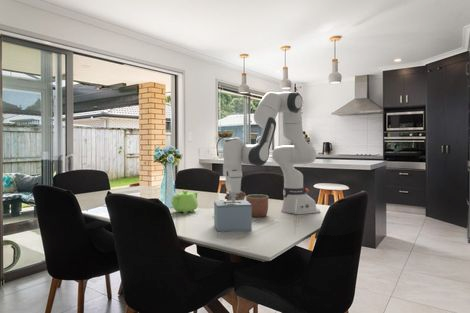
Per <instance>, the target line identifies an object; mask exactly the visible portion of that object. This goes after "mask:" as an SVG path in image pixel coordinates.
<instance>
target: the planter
mask: <svg viewBox="0 0 470 313" xmlns="http://www.w3.org/2000/svg"><path fill="white" fill-rule="evenodd" d="M245 200H247V201H248V202H249V203H250V204H252V218H263V217H265V216H267V215H268V212H269V196H268V195H267V194H248V195H246V196H245Z"/></svg>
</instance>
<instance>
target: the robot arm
mask: <svg viewBox="0 0 470 313" xmlns="http://www.w3.org/2000/svg"><path fill="white" fill-rule="evenodd" d="M302 106H303V97H302V95H301V94H300V92H295V91H281V92H274V91H269V92H266V93H265V94H264V95H263V96H262V98H261V100H260V101H259V103H258V105H257V107H256V109H255V111H254V113H253V121H254V122H255V124H256V125H258V126H259V128H261V129H262V132H261V134H260V136H259V139H258V142H257V143H255V144H248V143H246V142H244V141H243V140H241V138H240V137H236V136H235V137H230V138H227V139H225V140H224V142H223V145H222V146H223V147H222V159H223V164H222V174H223V175H222V176H224V177H225V188H226V189H227V191H229V198H230V200H231V201H232V202H235V198H236V194H239V193H240V191H241V189H242V188H241V187H242V178H243V170H242V165H243V164H244V165H253V166H256V167H262V166H264V165H266V163H267V162H268V159H269V157H270V150H271V144H272V143H273V139H274V136H275V133H276V132H275V131H276V129H277V122H276V118H277V115H278V113H281V114H282V135H283V137H284V138H285V139H286V140H288V141H290V142H292V144H293V145H278V146H275V147H274V148H273V150H272V153H271V155H272V156H271V157H272V159H273V161H274V162H275V163H276V164H277V165H278V166H279V167H280V169H281V171H282V173H283V174H282V175H283V186H284V187H283V190H282V191H283V192H282V194H283V201H282V202H283V203H282V206H281V209H280V210H281V212H283V213H287V214H288V213H289V214H295V215H307V214H317V213H321V209H319V208H318V207H317V204H316V200H314V199H313V198H312V197H311V196H309V195H308V193H309V192H310V189H309V188H307V187H306V188H305V187H304V174H303V173H302V172H301V171H300V170H298V169H296V168H295V166H294V165H308V164H312V163H313V164H314V162H315V160H316V158H317V151H316V149H315V148H314V147H313V146H312V145H310V144H309V143H308V141H307V140H306V138H305V137H304V136H305V134H304V131H303V115H302V110H301V109H302Z"/></svg>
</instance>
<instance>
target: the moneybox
mask: <svg viewBox="0 0 470 313" xmlns="http://www.w3.org/2000/svg"><path fill="white" fill-rule="evenodd" d="M226 203H234V204H226ZM213 209H214V210H213V212H214V213H213V215H214V218H213V219H214V224H213V225H214V227H215V229H216V232H217V233H220V232H221V233H222V232H224V233H225V232H239V231H241V232H242V231H252V223H253V222H252V220H253V219H252V218H253V217H252V204H250V203H249V202H248V201H247V200H246V199H244V200H235V202H232V201H226V200H224V201H220V200H214V202H213Z"/></svg>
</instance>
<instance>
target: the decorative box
mask: <svg viewBox="0 0 470 313" xmlns="http://www.w3.org/2000/svg"><path fill="white" fill-rule="evenodd" d="M225 193H226V194H225V196H224V200H225V201H231V200H230V198H229V190H227V191H226V192H225ZM246 196H247V195H246V192H245V191H242V190H240V193H239V194H236V198H235V200H245V199H246Z"/></svg>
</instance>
